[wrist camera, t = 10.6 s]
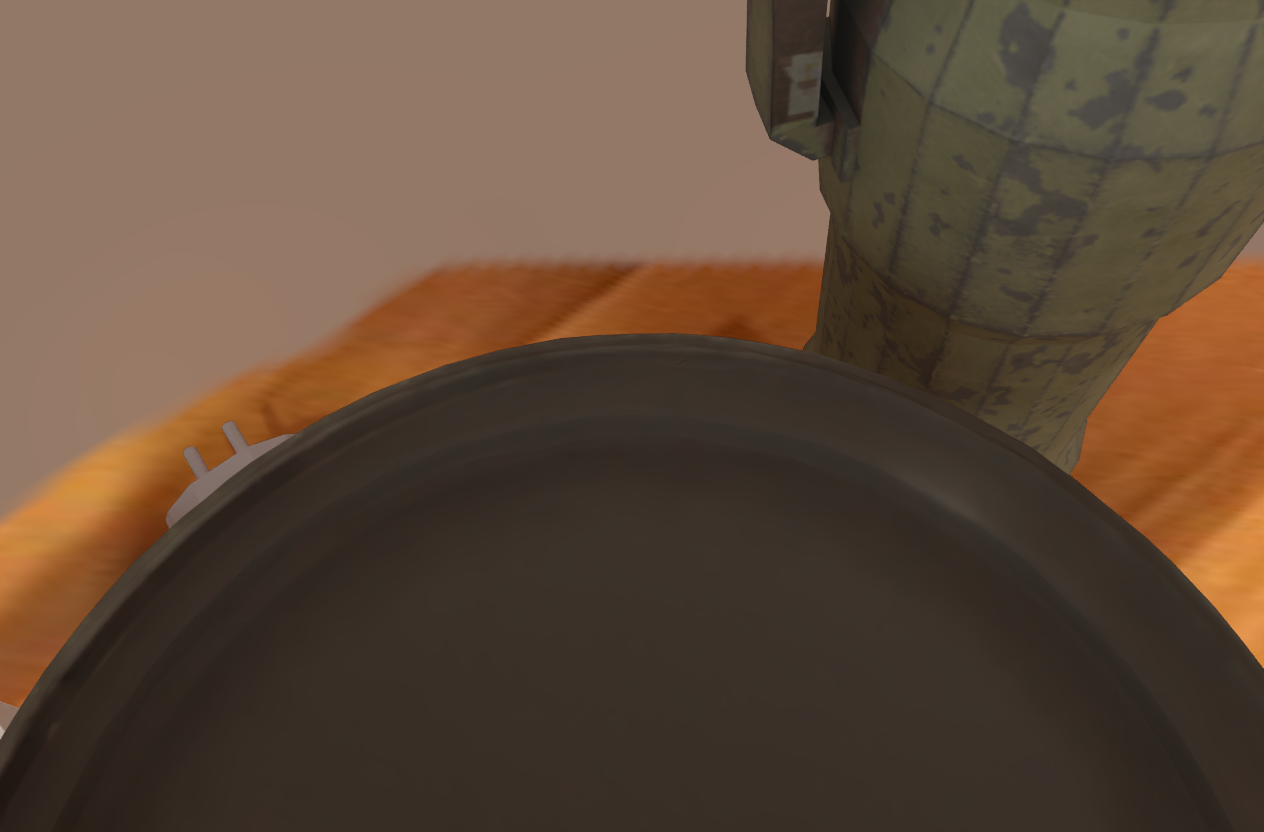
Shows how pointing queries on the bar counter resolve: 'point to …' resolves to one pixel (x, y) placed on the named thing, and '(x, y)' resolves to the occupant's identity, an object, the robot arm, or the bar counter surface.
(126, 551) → the bar counter surface
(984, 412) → the thermos
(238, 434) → the charger
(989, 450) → the coffee can
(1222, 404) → the bar counter surface
